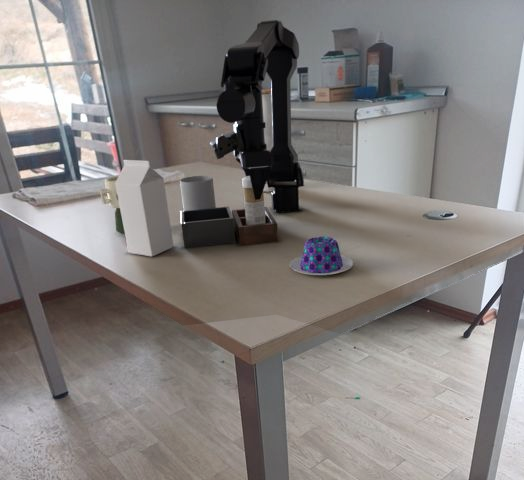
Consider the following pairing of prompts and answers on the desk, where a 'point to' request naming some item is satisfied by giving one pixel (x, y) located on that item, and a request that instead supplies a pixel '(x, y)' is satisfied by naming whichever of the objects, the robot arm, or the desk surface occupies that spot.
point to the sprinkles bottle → (253, 204)
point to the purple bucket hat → (321, 258)
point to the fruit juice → (267, 123)
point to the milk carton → (144, 209)
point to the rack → (254, 229)
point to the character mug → (113, 201)
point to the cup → (197, 192)
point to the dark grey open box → (207, 227)
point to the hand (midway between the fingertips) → (254, 194)
